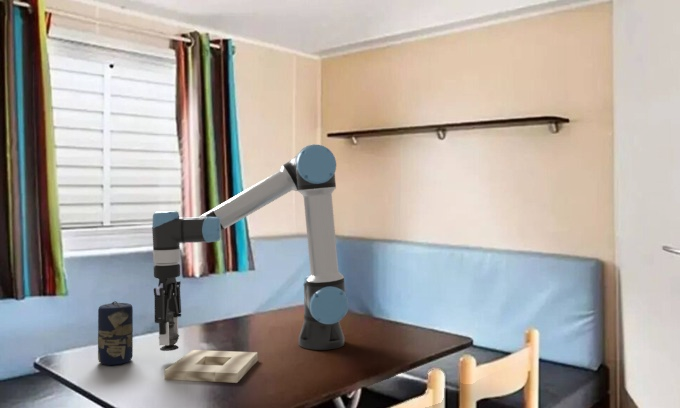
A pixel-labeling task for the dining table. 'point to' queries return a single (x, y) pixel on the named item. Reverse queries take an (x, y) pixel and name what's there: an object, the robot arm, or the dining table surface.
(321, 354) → the dining table surface
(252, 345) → the dining table surface
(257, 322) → the dining table surface
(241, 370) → the socket
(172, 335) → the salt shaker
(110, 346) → the canister
